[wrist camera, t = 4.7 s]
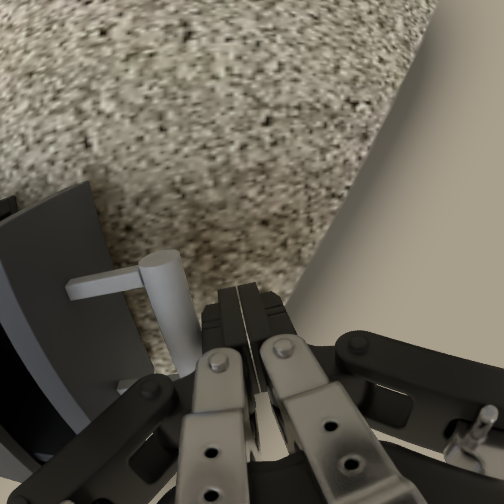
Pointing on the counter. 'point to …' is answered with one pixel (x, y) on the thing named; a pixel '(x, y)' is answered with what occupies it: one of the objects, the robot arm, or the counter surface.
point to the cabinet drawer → (78, 321)
